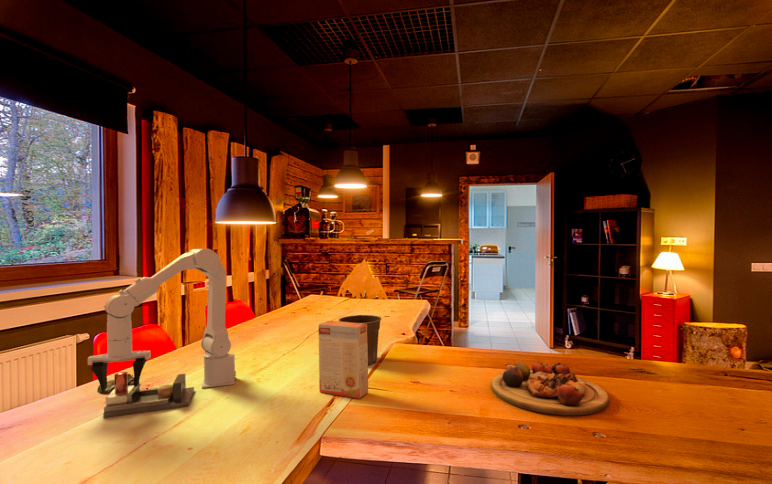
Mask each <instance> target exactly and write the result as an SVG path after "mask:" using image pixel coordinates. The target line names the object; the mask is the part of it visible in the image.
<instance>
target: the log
mask: <svg viewBox="0 0 772 484" xmlns="http://www.w3.org/2000/svg"><path fill="white" fill-rule="evenodd" d="M133 385H134V374H132V373H128V386H133ZM114 389H115V379H111V380H107V388H106V389H105V390H101V386H100V384H99V385H98V386H97V390H96V391H97V393H98V394H99V395H104V396H105V395H109V394H110V393H111V392H112V391H113V390H114Z"/></svg>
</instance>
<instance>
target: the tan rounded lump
mask: <svg viewBox="0 0 772 484" xmlns="http://www.w3.org/2000/svg"><path fill="white" fill-rule="evenodd" d="M157 388H158V400H160V399H168V398H169V399H171V398H173V384H164V385H161V386H159V387H157Z"/></svg>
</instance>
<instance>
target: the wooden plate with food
mask: <svg viewBox="0 0 772 484" xmlns="http://www.w3.org/2000/svg"><path fill="white" fill-rule="evenodd" d="M490 388H491V390H492V392H493V394H494V395H495V396H496V397H498V398H499V399H500V400H502V401H504V402H506V403H508V404H510V405H513V406H515V407H518V408H521V409H524V410H529V411H533V412H537V413H542V414H549V415H556V416H557V415H558V416H584V415H591V414H597V413H598V412H601V411H603V410H605V408H607V406H608V405H609V404H610V396H609V394H608V393H607V391H605V389H604V388H602V387H601V386H600V385H598V384H596V383H594V382H592V381H589V380H587V379H584V378H580V377H577V376H576V374H575V373H571V369H570V367H569V365H568V364H565V363H564V364H563V363H561V362H557V363H554V365H552V366H551V365H549V364H548V363H546V364H543V363H542V362H539V361H537V362H535V363H532V366H531V369H530V368H529V366H528V364H526V363H525V362H523V360H519V361H518V362H515V363H513V364H512V366H509V367H508V368H506V369H505V370H504V372H503V373H499V374H498V375H496V376H495V377H494V378H493V379H492V380H491V382H490Z"/></svg>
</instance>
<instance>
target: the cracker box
mask: <svg viewBox="0 0 772 484" xmlns="http://www.w3.org/2000/svg"><path fill="white" fill-rule="evenodd" d="M368 365H369V364H368V348H367V324H363V323H350V322H339V321H337V320H335V321H333V320H326V321H324V322H320V323H319V324H318V372H319V373H318V375H319V376H318V377H319V378H318V379H319V381H318V382H319V385H318V387H319V393H323V394H329V395H334V396H335V395H336V396H341V397H346V398H353V399H357V400H358V399H359V400H360V399H361V398H362V397H364V396H365V395H366V394H368V393H369V369H368V368H369V366H368Z"/></svg>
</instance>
